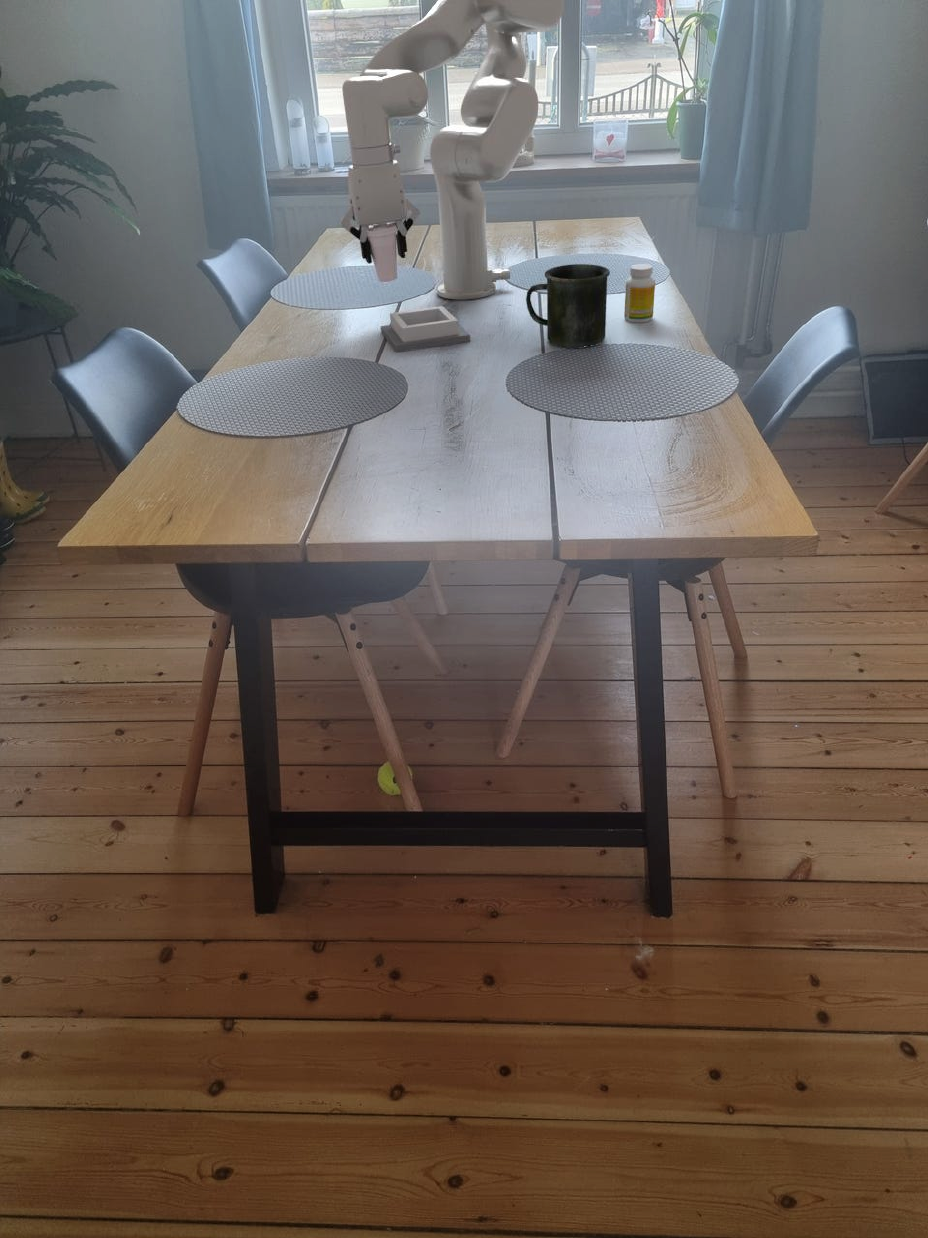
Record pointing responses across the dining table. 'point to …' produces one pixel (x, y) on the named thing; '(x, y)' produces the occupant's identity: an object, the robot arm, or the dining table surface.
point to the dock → (423, 329)
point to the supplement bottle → (639, 294)
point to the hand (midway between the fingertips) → (385, 258)
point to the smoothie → (383, 250)
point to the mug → (574, 305)
